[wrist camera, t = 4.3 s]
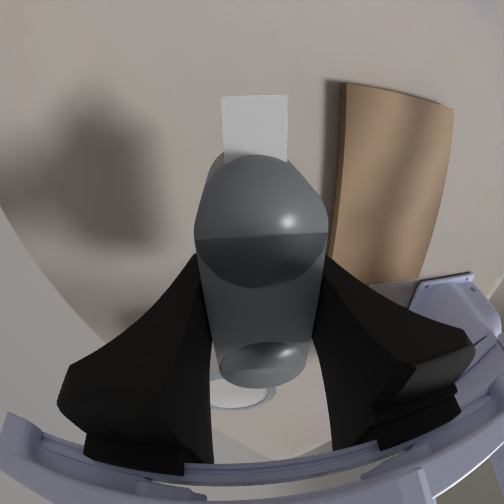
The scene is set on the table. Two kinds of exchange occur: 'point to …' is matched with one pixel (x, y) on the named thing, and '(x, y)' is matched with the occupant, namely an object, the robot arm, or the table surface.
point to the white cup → (234, 392)
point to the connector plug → (259, 247)
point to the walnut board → (387, 182)
